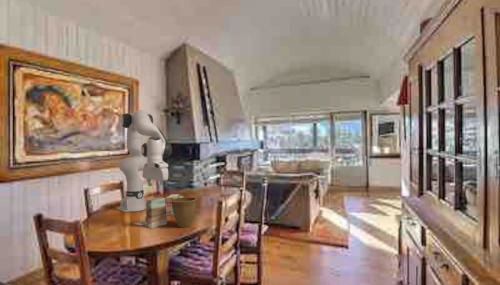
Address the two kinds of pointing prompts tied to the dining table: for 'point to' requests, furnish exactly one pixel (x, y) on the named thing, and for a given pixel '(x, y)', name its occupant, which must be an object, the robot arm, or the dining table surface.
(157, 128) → the robot arm
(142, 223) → the page
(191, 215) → the plant pot
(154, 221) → the base brick
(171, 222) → the dining table surface
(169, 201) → the stack of blocks
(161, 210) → the brick walnut
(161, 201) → the brick sage
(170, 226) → the dining table surface
